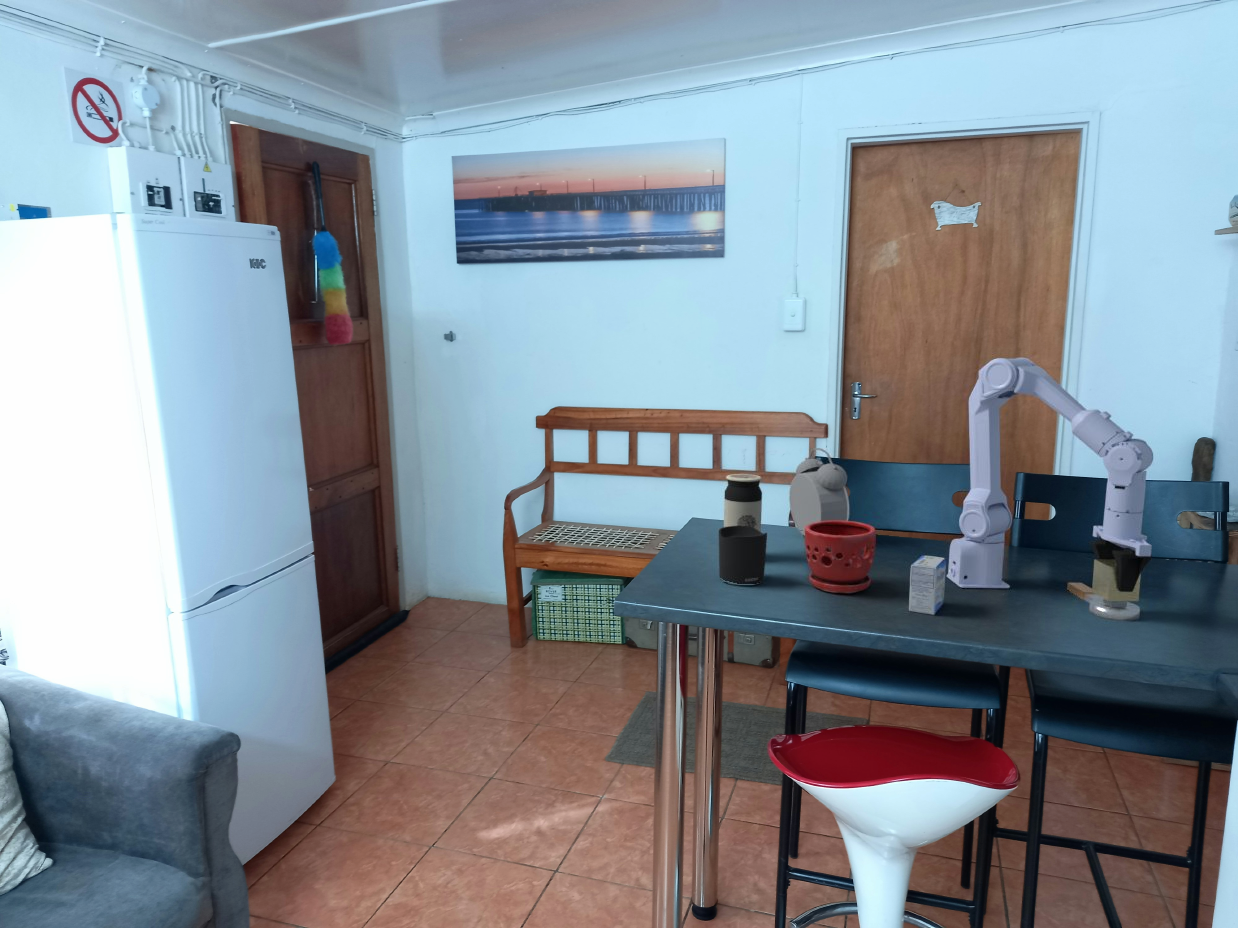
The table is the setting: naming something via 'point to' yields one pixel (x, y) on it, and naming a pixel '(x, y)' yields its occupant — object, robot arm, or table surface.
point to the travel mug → (743, 501)
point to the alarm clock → (818, 493)
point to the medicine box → (927, 584)
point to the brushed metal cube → (1111, 582)
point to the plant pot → (840, 555)
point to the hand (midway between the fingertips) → (1116, 586)
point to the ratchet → (1105, 604)
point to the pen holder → (742, 554)
